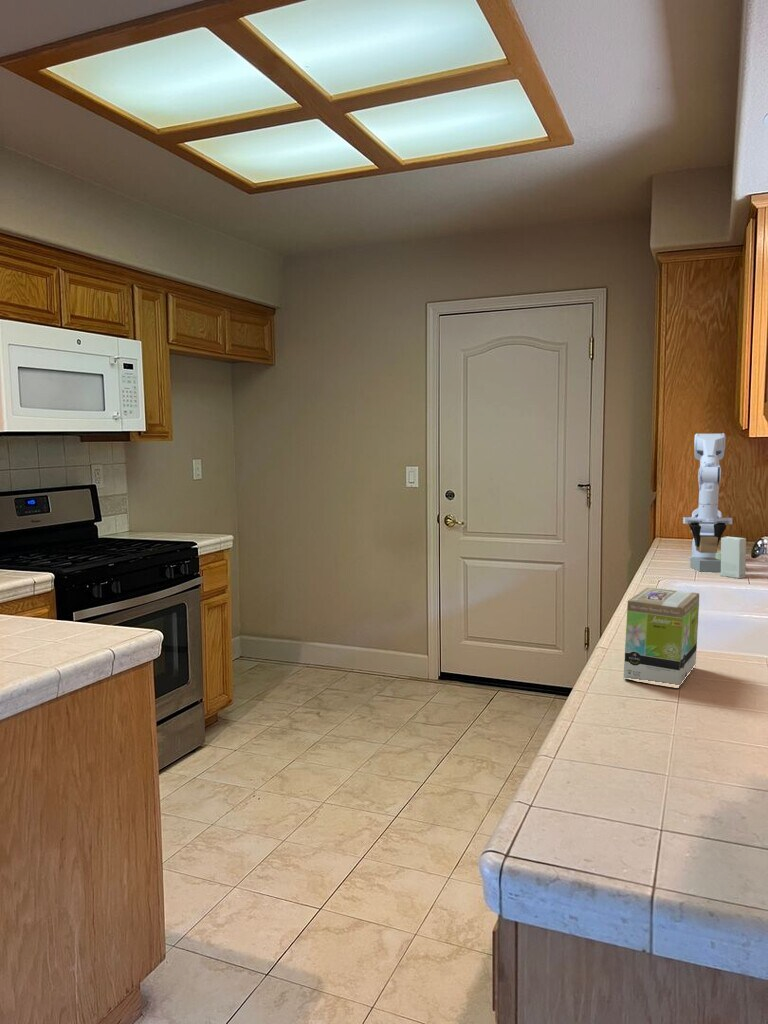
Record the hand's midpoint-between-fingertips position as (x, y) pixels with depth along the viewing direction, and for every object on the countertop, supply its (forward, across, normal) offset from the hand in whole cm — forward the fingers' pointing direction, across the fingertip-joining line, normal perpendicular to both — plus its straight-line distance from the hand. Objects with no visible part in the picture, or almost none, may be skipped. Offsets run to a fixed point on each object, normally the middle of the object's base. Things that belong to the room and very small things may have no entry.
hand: (706, 546), depth 242 cm
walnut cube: (+2, 0, 0) cm, 2 cm away
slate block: (+8, 0, 0) cm, 8 cm away
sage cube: (+8, +8, +5) cm, 12 cm away
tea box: (+8, -40, -110) cm, 117 cm away
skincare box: (+8, +5, -10) cm, 14 cm away
